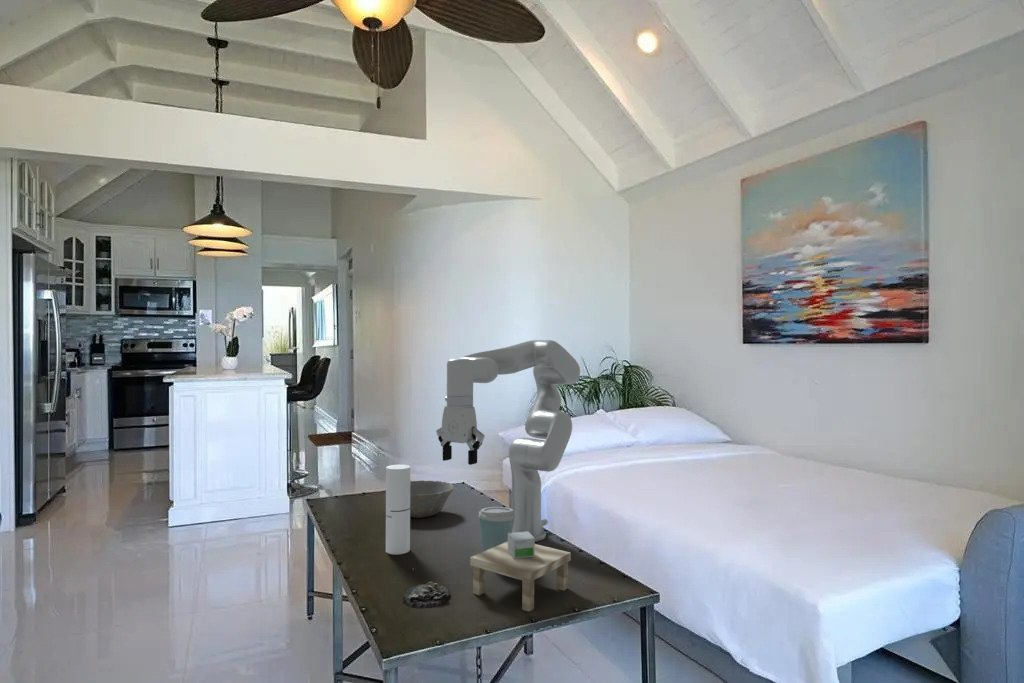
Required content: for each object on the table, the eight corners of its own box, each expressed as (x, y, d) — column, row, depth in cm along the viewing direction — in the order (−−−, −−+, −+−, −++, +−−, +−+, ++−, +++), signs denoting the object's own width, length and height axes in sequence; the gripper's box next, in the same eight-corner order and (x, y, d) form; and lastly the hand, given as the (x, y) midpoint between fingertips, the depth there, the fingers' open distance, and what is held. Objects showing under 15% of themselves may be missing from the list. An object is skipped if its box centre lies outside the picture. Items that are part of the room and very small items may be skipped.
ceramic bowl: (377, 516, 216) (377, 488, 217) (421, 503, 235) (421, 477, 235) (422, 527, 204) (422, 497, 204) (465, 512, 223) (466, 485, 223)
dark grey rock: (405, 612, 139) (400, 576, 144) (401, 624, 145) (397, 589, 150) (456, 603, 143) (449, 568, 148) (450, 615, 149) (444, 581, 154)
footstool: (513, 572, 164) (513, 538, 164) (570, 588, 153) (570, 552, 153) (470, 593, 149) (470, 557, 149) (529, 613, 138) (529, 573, 138)
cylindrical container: (404, 555, 177) (405, 469, 177) (381, 553, 178) (382, 468, 178) (413, 547, 184) (413, 465, 184) (391, 545, 185) (391, 464, 185)
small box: (513, 559, 148) (513, 539, 148) (507, 552, 153) (507, 532, 153) (535, 557, 149) (535, 537, 149) (528, 550, 155) (528, 530, 155)
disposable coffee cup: (472, 557, 175) (473, 505, 175) (507, 552, 179) (507, 502, 179) (485, 569, 165) (485, 514, 165) (521, 564, 169) (521, 511, 169)
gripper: (428, 400, 174) (428, 460, 174) (474, 404, 164) (474, 467, 163) (446, 399, 180) (446, 456, 180) (491, 402, 170) (491, 463, 169)
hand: (459, 461), depth 172 cm, fingers open, 9 cm apart
